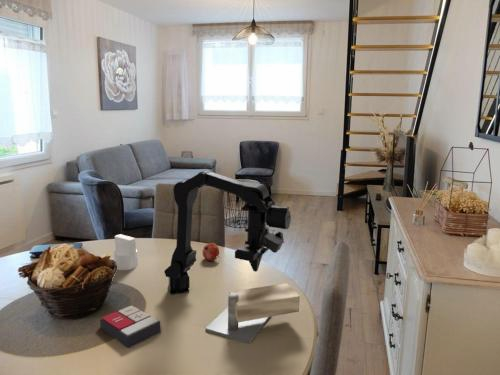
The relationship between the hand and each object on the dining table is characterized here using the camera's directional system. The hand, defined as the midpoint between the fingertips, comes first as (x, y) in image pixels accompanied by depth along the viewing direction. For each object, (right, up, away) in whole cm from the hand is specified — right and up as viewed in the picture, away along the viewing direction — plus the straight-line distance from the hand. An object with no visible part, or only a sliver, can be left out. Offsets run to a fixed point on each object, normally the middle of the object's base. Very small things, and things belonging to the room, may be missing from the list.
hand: (255, 271), depth 132 cm
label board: (-3, -13, -3) cm, 14 cm away
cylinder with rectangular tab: (-51, -5, +33) cm, 61 cm away
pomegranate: (-18, -3, +40) cm, 44 cm away
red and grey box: (-37, -15, -11) cm, 41 cm away
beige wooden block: (+1, -14, -8) cm, 16 cm away
